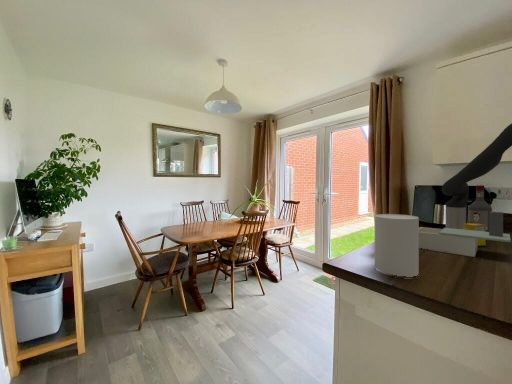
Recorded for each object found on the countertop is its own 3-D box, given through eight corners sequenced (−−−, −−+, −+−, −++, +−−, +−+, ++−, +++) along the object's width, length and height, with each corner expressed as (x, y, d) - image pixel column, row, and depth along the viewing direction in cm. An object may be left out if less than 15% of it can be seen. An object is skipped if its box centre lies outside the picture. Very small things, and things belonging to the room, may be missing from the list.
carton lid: (438, 234, 103) (438, 211, 103) (444, 229, 114) (444, 208, 114) (510, 242, 87) (510, 214, 87) (509, 235, 98) (509, 211, 98)
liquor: (473, 230, 147) (474, 185, 146) (492, 233, 139) (493, 185, 138) (466, 232, 143) (467, 185, 142) (486, 234, 135) (486, 185, 134)
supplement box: (475, 244, 115) (475, 223, 115) (485, 247, 109) (486, 225, 109) (462, 243, 116) (462, 223, 116) (472, 247, 110) (472, 225, 110)
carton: (413, 247, 111) (413, 231, 111) (420, 241, 122) (420, 227, 122) (474, 257, 95) (474, 238, 95) (477, 249, 106) (477, 232, 105)
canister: (420, 281, 72) (420, 220, 72) (373, 273, 79) (373, 217, 79) (416, 268, 83) (416, 215, 83) (376, 262, 91) (375, 213, 90)
